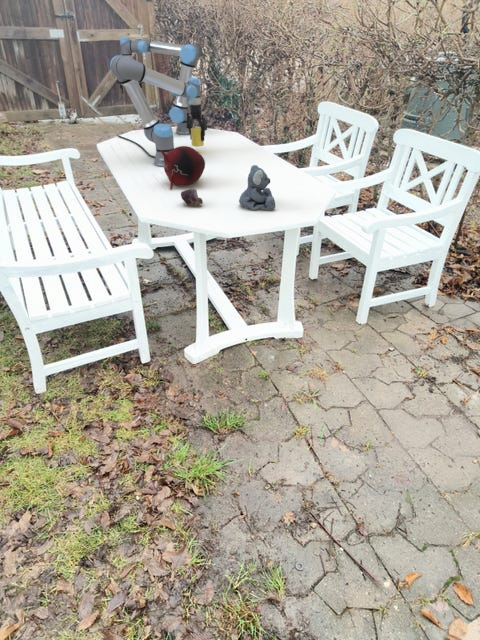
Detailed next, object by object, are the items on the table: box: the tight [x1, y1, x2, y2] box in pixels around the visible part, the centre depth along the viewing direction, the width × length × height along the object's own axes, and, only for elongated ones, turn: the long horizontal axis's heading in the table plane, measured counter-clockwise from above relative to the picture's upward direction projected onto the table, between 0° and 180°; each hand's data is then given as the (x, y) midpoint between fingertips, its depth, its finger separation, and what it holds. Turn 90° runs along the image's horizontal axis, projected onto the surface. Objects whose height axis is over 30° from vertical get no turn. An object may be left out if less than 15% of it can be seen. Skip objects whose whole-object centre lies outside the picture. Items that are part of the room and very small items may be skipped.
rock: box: [180, 188, 204, 207], centre depth 229 cm, size 12×9×10 cm
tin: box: [190, 126, 205, 147], centre depth 311 cm, size 8×8×11 cm
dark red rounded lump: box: [161, 145, 206, 190], centre depth 255 cm, size 21×24×25 cm
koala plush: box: [238, 164, 276, 211], centre depth 224 cm, size 17×18×20 cm
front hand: (197, 140), depth 312 cm, fingers closed on tin, 8 cm apart
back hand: (131, 93), depth 349 cm, fingers open, 13 cm apart
